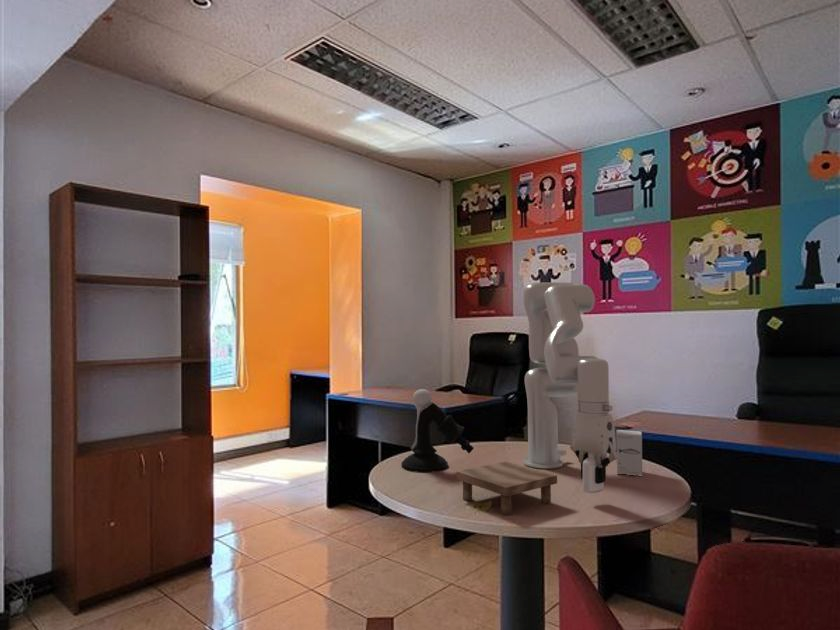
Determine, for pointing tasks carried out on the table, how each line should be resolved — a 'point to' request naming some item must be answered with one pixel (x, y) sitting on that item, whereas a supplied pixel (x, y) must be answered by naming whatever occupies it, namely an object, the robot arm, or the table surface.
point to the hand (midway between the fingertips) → (593, 479)
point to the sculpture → (424, 450)
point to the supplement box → (629, 452)
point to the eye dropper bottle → (591, 475)
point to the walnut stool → (507, 482)
